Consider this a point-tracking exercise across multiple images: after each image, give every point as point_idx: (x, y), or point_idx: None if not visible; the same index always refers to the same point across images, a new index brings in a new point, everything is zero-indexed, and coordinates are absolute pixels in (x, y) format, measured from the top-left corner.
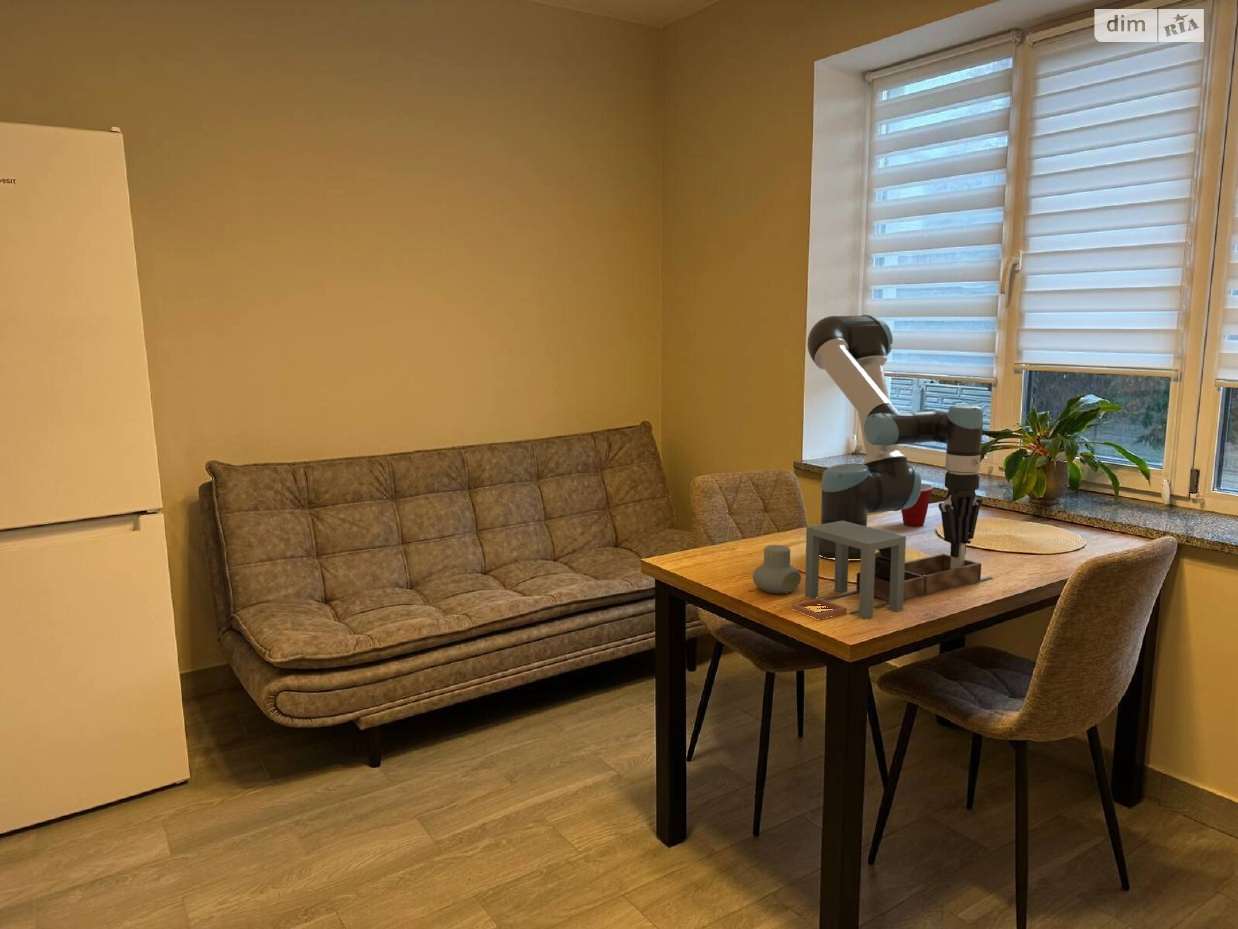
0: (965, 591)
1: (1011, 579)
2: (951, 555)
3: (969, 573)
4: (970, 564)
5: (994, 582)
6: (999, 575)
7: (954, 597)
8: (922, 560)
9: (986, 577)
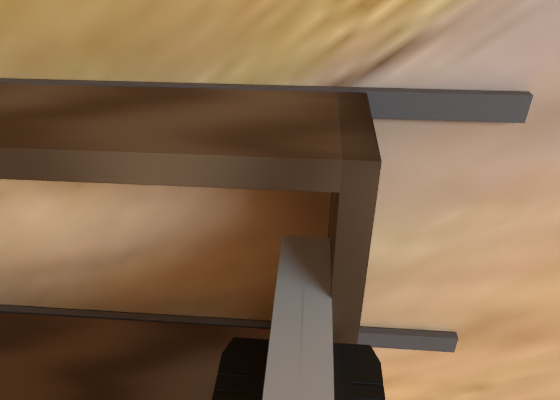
0: None
1: (515, 392)
2: (226, 353)
3: None
4: None
5: (392, 373)
6: (554, 337)
7: None
8: (6, 172)
9: (425, 337)
